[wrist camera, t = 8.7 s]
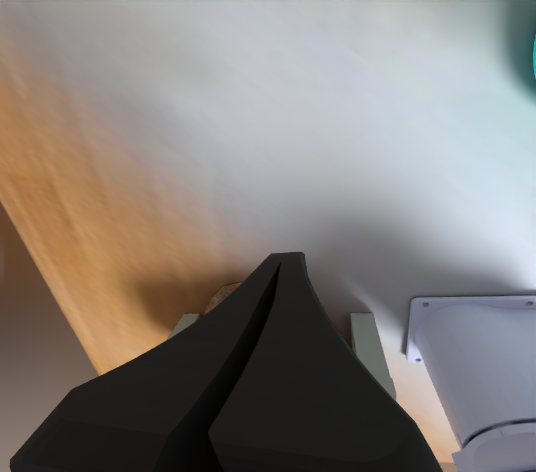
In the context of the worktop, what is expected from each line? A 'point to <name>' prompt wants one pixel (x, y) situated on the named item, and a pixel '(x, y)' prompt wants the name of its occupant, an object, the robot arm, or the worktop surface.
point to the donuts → (534, 57)
